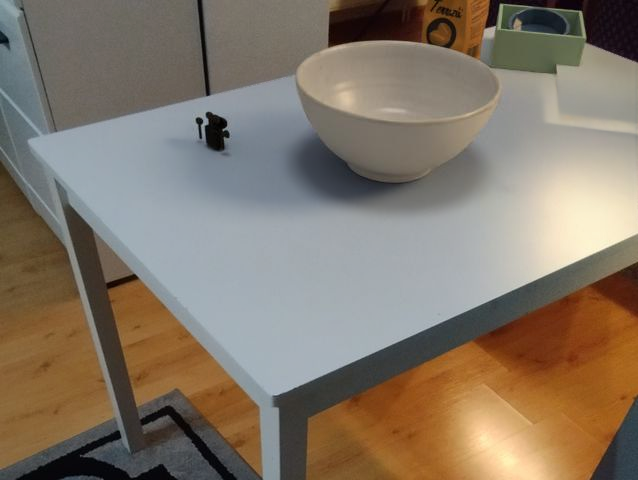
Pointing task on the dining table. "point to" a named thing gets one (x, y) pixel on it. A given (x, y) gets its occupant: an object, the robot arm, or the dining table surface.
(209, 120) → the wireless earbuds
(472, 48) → the coffee package
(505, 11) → the tub
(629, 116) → the dining table surface
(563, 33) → the blue-grey round shallow container
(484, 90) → the decorative bowl
